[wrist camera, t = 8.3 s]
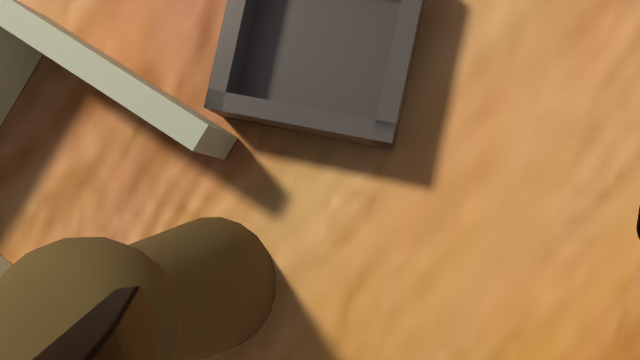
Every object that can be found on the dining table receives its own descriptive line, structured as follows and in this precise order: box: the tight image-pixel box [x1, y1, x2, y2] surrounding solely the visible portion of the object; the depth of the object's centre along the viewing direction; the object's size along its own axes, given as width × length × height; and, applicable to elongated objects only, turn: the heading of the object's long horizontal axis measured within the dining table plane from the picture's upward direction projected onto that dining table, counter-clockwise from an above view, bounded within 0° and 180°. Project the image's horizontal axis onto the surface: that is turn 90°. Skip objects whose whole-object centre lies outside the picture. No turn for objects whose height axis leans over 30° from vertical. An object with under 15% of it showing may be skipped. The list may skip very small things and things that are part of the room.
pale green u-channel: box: [0, 0, 237, 277], centre depth 22 cm, size 12×12×4 cm
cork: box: [0, 217, 275, 360], centre depth 17 cm, size 6×6×11 cm
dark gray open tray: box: [204, 0, 425, 150], centre depth 21 cm, size 8×8×2 cm
